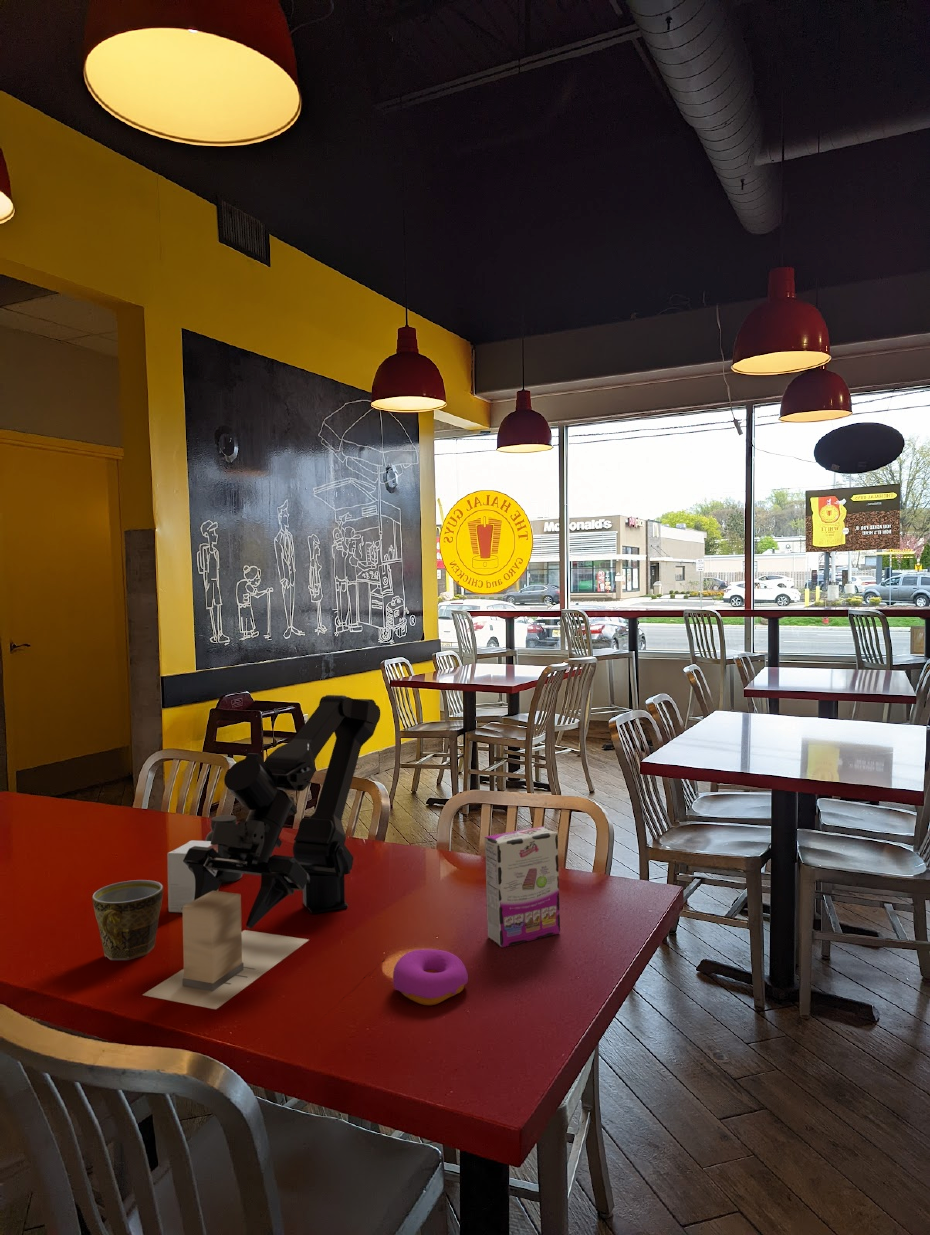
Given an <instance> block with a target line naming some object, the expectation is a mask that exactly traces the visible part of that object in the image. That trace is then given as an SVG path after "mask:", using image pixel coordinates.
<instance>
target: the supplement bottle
mask: <svg viewBox="0 0 930 1235" xmlns="http://www.w3.org/2000/svg"><path fill="white" fill-rule="evenodd" d="M216 822H219V823H229V824H237V823H238V821H237V816H236V815H233V814H223V815H221V814H220V815H217V816H213V817H212V818H211V819H210V829H211V831H210V832H208V834H207V835H206V837H205V841H211V839H212V835H213V831H214V827H215V823H216ZM223 847H224V846H221V845H218V854H219V855H220V856H221V857H223V858H229V857H230V855H229V854H226V853H225V852H224V851H223ZM242 877H243V873H235V872H225V874H224V876H223V877H221V878H220V879H218V880H219V881H220V882H221V885H224V884H231V883H235V882H237V881H239V880H240V879H242Z"/></svg>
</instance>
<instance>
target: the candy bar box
mask: <svg viewBox="0 0 930 1235" xmlns="http://www.w3.org/2000/svg"><path fill="white" fill-rule="evenodd" d="M558 841H559V840H558V832H556V831H554V830H552V829H549V828H547V827H546V826H538V827H531V828H526V829H520V830H515V831H510V832H509V831H508V832H504V833H498V834H497V833H496V834H493V835H487V836H484V855H485V861H484V862H485V880H486V883H485V886H486V887H485V888H486V889H485V891H486V918H487V919H486V923H487V928H486V929H487V938H488V937H489V938H491V939H492V940H493V941H492V940H491V939H490V940H491V941H492V942H494V941H495V942H496V943H495V942H494V943H495V944H496V945H497V946H499V947H500V948H506V946H507V947H510V946H509V945H511V946H515V945H518V944H523V943H527V942H531V941H534V940H539V939H542V938H547V937H550V935H551V936H553V935H554V934H555V935H558V934H560V933H561V919H560V918H561V914H560V913H561V912H560V883H559V882H560V881H559V880H560V879H559V877H560V876H559V874H560V872H559V844H558ZM489 938H488V939H489ZM538 938H539V939H538ZM526 941H527V942H526Z"/></svg>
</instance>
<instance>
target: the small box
mask: <svg viewBox="0 0 930 1235" xmlns="http://www.w3.org/2000/svg"><path fill="white" fill-rule="evenodd" d="M194 846H199V847H208V848H213V849H214V850H215V851H216V852H217V853H218V845H211V841H206V840H189V841H188V842H186V843H185V844H183V845H180V846H178V847H177V848H175V849H173V850H172V851H169V852H167V856H166V857H167V898H168V899H167V900H168V901H167V903H168V904H167V905H168V906H167V907H168V913H181V914H183V906H184V905H186V904H188V903H190V902H192V901H194V896H195V877H194V873H193V872H191V871H190V870H189V868H188V866H187V865H186V864H185V863H184V862H183V859H184V857H185V855H186V853H187V851H188V850H189V848H192V847H194ZM217 891H219V889H218V890H217Z"/></svg>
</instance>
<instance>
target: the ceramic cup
mask: <svg viewBox="0 0 930 1235" xmlns="http://www.w3.org/2000/svg"><path fill="white" fill-rule="evenodd" d="M163 895H164V885H163V884H162V883H161V882H159V881H155V880H150V879H148V880H147V879H136V880H135V879H134V880H127V881H120V882H115V883H112V884H109V885H106V886H103V887H101V888H99V889H98V890H96V891H95V892H94V893H93V895H92V904H93V910H94V915H95V918H96V921H97V925H98V929H99V930H98V931H99V937H100V940H101V944H102V950H103V954H104V958H106V957H107V958H108V959H109V960H110V961H130V960H134V959H137V958H140V957H144V956H147V955H148V954H149V953H150V952H151V951H152V950H153V949H154V948H155V945H156V938H157V932H158V927H159V926H158V925H159V919H160V918H159V917H160V913H161V909H162V903H163Z"/></svg>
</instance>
